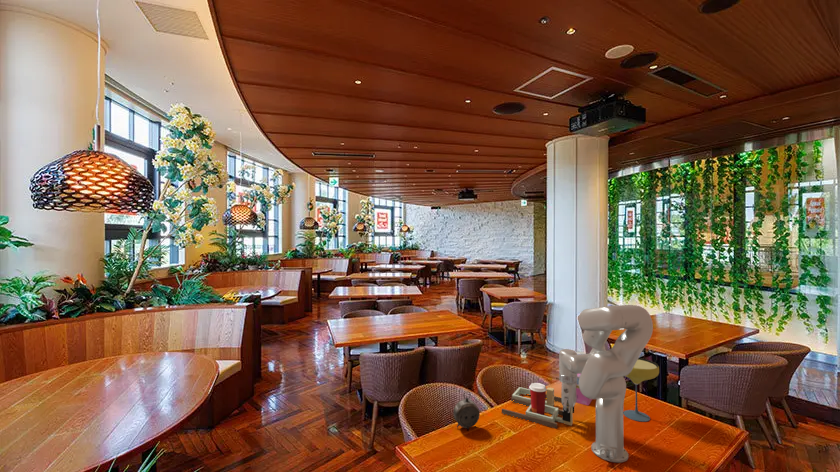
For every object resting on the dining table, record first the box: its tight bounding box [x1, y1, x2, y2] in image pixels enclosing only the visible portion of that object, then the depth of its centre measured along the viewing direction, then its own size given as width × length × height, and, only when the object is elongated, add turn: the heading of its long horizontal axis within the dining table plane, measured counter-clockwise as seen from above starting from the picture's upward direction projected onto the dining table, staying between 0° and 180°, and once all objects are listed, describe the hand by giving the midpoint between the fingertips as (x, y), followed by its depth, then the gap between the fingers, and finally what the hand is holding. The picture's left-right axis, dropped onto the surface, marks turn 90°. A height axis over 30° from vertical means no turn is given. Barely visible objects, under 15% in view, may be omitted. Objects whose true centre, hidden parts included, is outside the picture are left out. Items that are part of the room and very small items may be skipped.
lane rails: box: [501, 395, 563, 429], centre depth 173 cm, size 29×25×2 cm
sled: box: [525, 404, 574, 426], centre depth 163 cm, size 12×19×8 cm, turn 57°
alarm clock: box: [453, 391, 480, 430], centre depth 154 cm, size 11×5×16 cm, turn 102°
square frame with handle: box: [511, 386, 555, 407], centre depth 181 cm, size 12×19×8 cm, turn 57°
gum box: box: [576, 374, 593, 406], centre depth 188 cm, size 24×8×14 cm, turn 142°
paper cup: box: [528, 382, 547, 416], centre depth 166 cm, size 8×8×14 cm
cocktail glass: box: [623, 357, 660, 423], centre depth 166 cm, size 18×18×25 cm
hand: (568, 416), depth 159 cm, fingers open, 9 cm apart
